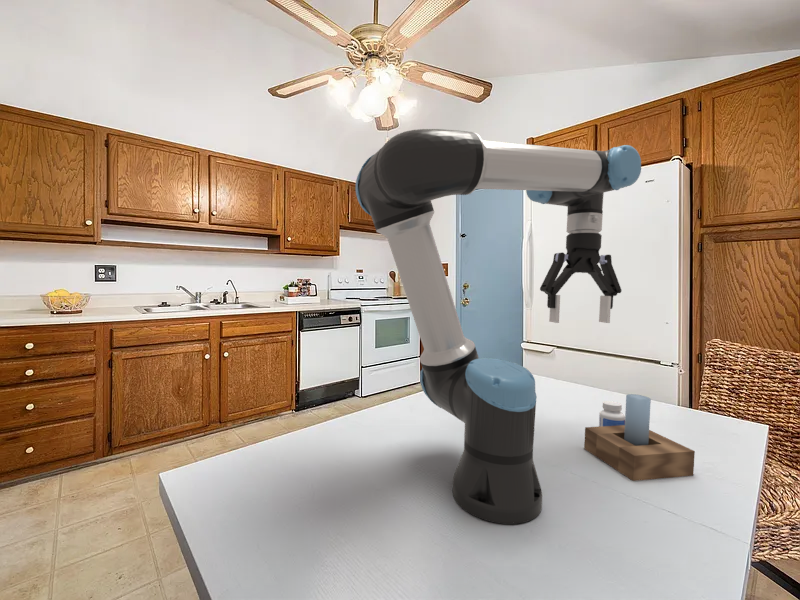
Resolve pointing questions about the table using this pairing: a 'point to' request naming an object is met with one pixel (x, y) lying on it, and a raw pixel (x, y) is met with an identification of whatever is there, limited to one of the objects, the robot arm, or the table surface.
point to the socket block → (639, 454)
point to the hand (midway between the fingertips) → (579, 322)
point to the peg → (637, 419)
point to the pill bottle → (611, 414)
